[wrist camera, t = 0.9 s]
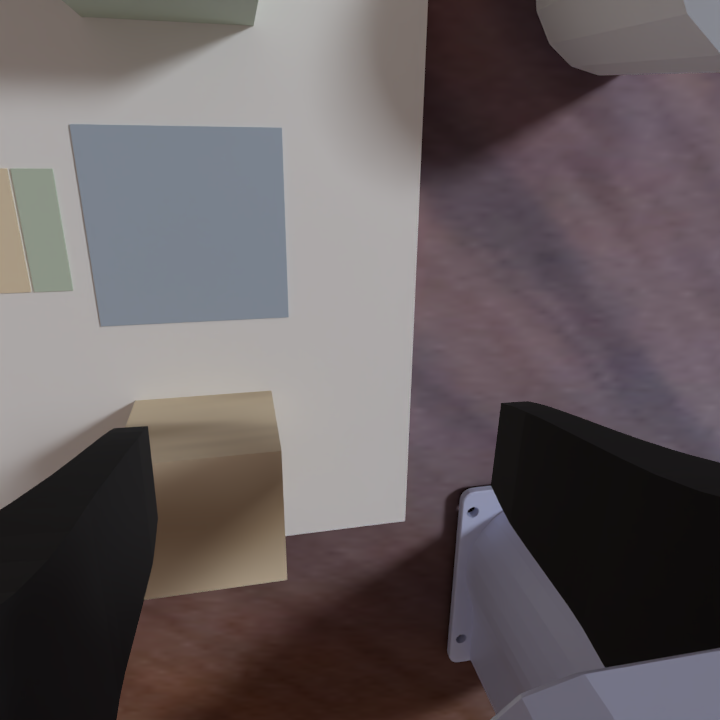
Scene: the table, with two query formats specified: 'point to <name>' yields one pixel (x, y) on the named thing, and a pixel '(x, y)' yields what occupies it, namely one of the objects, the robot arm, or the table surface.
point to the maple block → (215, 492)
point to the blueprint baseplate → (214, 235)
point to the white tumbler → (634, 35)
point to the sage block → (170, 10)
